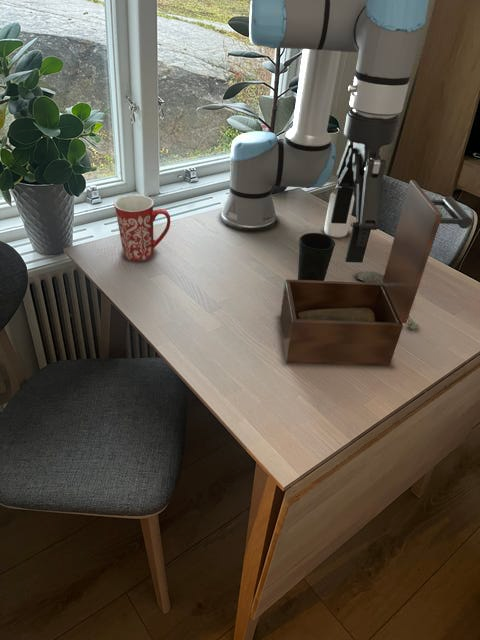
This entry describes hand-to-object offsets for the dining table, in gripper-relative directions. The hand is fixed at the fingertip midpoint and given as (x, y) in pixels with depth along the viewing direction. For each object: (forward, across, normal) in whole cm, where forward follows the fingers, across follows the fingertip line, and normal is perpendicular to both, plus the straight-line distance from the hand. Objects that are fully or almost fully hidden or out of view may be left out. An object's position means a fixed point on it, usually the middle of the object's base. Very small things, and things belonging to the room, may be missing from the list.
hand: (345, 240), depth 82 cm
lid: (+1, +2, +10) cm, 11 cm away
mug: (+22, -29, -40) cm, 54 cm away
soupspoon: (+22, -13, +16) cm, 30 cm away
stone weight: (+21, +2, +1) cm, 21 cm away
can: (+22, -45, +10) cm, 51 cm away
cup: (+22, -17, -1) cm, 28 cm away
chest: (+22, +2, +1) cm, 22 cm away
